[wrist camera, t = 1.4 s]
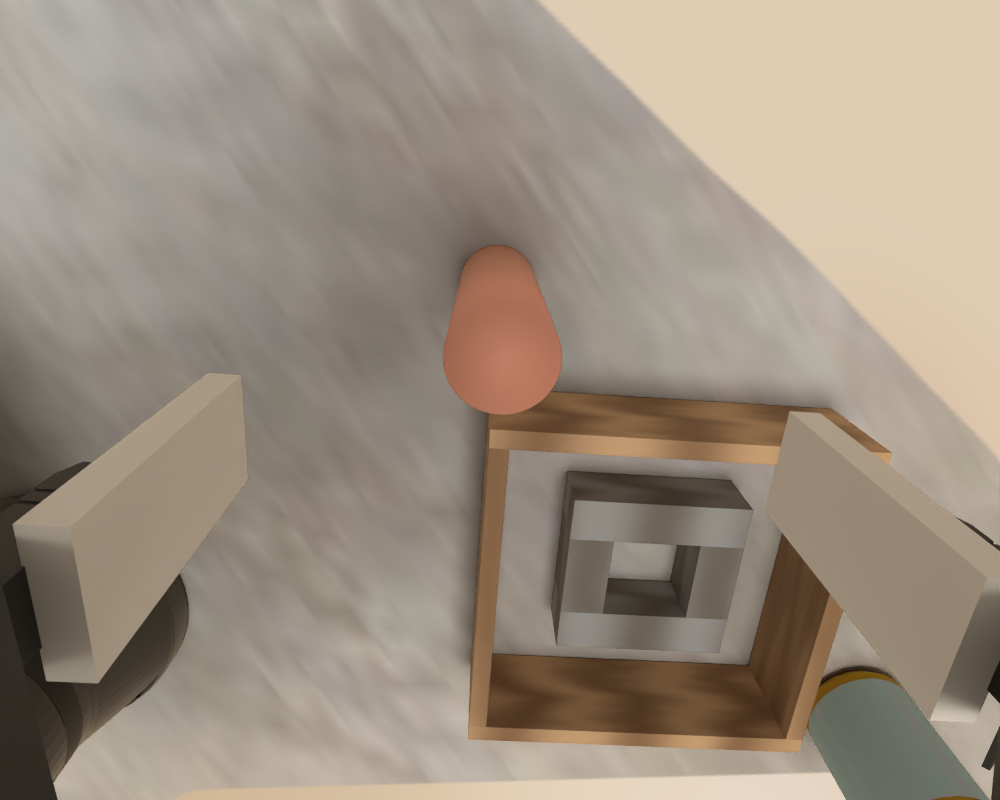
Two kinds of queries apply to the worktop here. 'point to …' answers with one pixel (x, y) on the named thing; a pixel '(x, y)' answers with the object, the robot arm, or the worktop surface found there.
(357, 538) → the worktop surface
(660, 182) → the worktop surface
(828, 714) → the bottle
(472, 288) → the peg
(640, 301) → the worktop surface
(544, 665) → the crate
